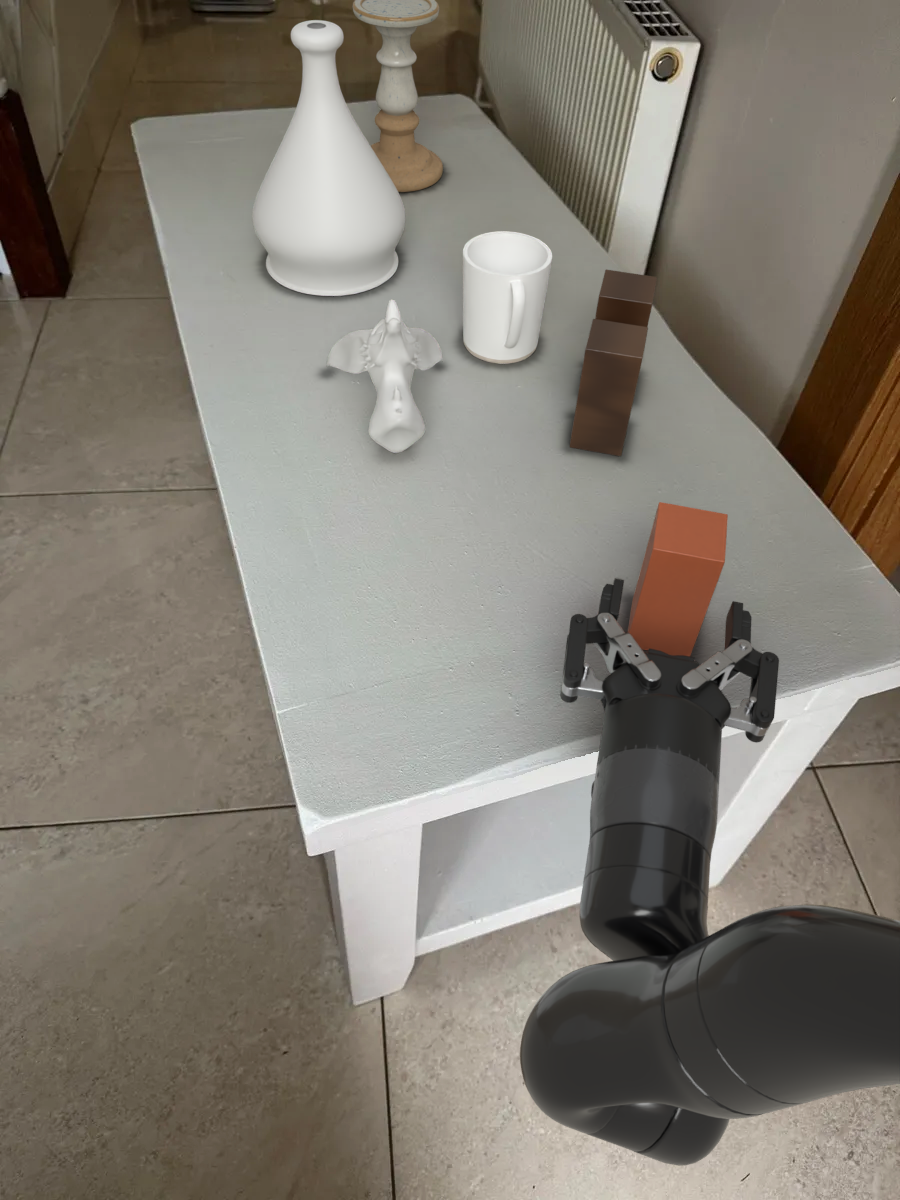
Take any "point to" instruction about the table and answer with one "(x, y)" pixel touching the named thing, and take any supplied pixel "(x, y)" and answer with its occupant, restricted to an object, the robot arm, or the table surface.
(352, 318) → the table surface
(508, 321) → the mug
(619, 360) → the walnut block mid
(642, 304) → the walnut block far
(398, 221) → the vase
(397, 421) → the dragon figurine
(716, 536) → the terracotta block
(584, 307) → the table surface
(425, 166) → the candle holder
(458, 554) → the table surface
